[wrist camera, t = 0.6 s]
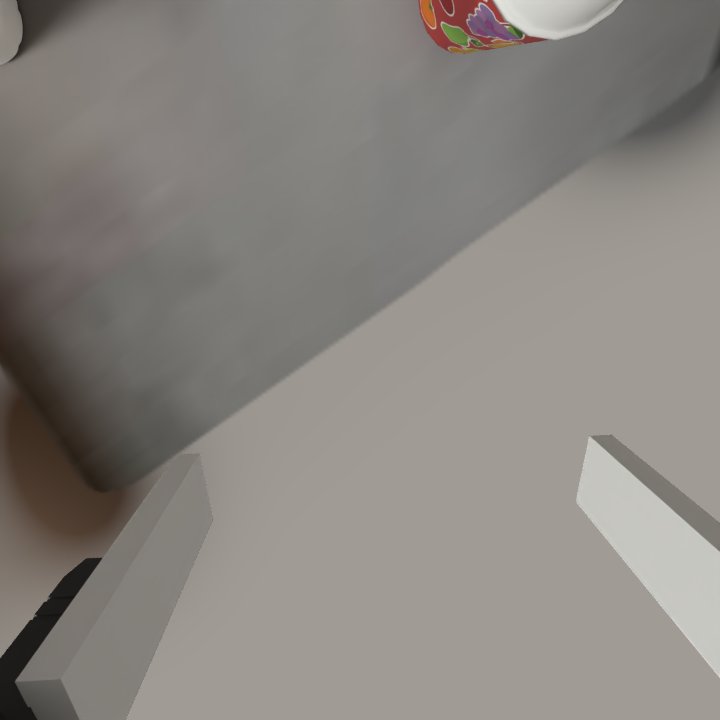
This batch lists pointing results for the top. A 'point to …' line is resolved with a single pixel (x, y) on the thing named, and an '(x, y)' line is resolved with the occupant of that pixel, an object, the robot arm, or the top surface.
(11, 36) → the water bottle
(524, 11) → the smoothie
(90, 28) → the top surface
